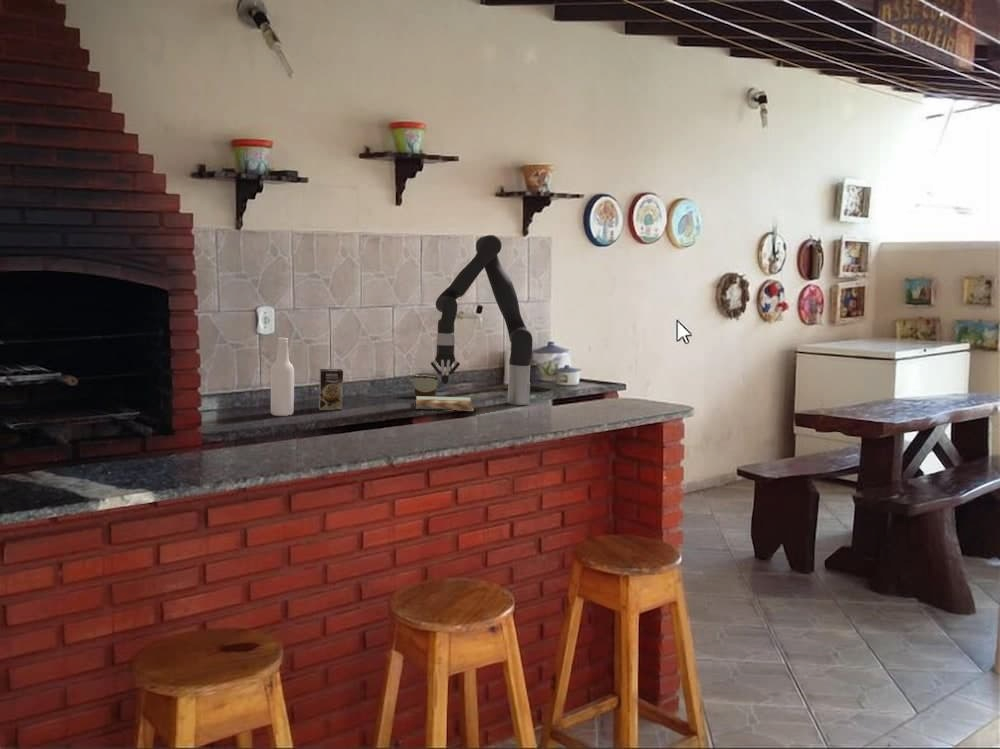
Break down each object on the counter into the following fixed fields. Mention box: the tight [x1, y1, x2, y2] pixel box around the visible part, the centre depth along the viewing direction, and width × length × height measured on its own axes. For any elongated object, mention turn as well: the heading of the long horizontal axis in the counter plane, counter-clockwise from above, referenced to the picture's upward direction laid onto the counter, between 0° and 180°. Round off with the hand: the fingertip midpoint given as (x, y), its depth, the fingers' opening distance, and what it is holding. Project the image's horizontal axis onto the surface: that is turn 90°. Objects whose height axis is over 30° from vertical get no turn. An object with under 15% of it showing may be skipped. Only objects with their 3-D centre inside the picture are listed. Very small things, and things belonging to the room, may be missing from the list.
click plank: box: [415, 396, 472, 404], centre depth 401 cm, size 23×8×2 cm, turn 96°
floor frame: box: [417, 400, 475, 412], centre depth 398 cm, size 24×16×3 cm, turn 96°
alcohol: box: [270, 336, 295, 417], centre depth 366 cm, size 9×9×30 cm
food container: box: [411, 372, 440, 397], centre depth 421 cm, size 12×6×10 cm, turn 84°
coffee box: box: [318, 368, 344, 411], centre depth 382 cm, size 9×6×16 cm
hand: (444, 383), depth 401 cm, fingers closed
